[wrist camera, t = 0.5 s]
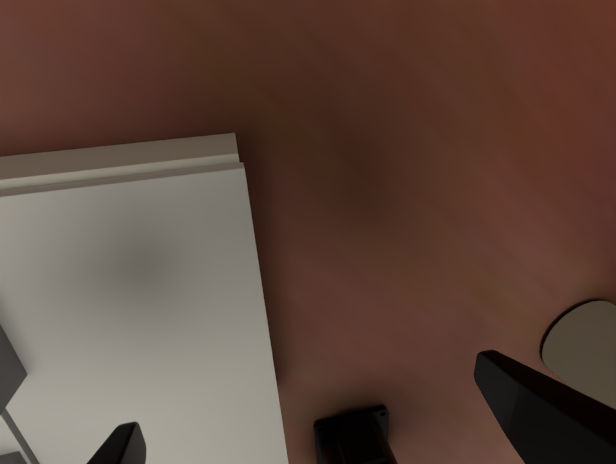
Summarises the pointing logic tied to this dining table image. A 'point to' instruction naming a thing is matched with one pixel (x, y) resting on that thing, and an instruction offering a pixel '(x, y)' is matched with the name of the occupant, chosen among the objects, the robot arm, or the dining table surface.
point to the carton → (116, 160)
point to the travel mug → (585, 350)
